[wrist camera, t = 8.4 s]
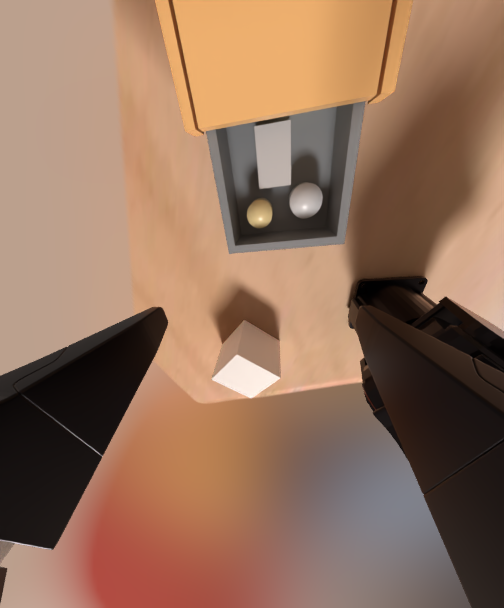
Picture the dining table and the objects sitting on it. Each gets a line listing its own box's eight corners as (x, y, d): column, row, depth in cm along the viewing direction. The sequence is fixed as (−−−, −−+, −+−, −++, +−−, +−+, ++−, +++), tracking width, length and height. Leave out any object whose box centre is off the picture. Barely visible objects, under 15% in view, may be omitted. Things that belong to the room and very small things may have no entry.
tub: (355, -9, 11) (395, -100, 7) (330, 231, 18) (344, 243, 14) (204, 32, 12) (176, -28, 8) (237, 239, 19) (229, 253, 16)
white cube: (279, 340, 26) (281, 378, 21) (255, 361, 29) (251, 398, 24) (244, 319, 25) (236, 354, 20) (222, 343, 28) (211, 379, 23)
